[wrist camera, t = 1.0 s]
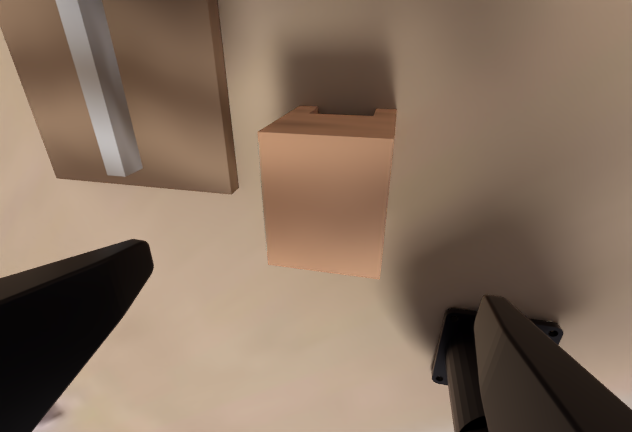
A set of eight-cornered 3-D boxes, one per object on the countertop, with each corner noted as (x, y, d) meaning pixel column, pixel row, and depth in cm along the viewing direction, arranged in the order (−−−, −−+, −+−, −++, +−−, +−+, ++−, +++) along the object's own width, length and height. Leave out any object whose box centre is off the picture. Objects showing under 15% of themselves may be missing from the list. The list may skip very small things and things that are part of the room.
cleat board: (238, 187, 21) (210, 212, 18) (69, 173, 23) (19, 192, 20) (210, -57, 15) (163, -81, 12) (-7, -43, 18) (-90, -60, 15)
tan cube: (385, 216, 20) (379, 279, 14) (299, 208, 21) (264, 264, 15) (396, 109, 17) (394, 139, 12) (296, 105, 18) (253, 131, 13)
